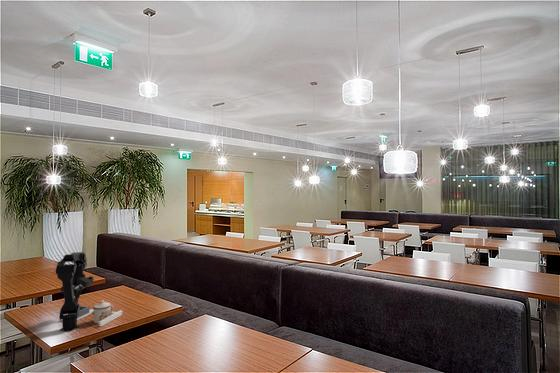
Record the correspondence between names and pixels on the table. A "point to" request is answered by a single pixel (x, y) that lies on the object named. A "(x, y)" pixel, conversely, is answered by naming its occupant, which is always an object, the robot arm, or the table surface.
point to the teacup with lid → (102, 311)
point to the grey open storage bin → (86, 311)
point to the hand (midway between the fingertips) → (77, 299)
